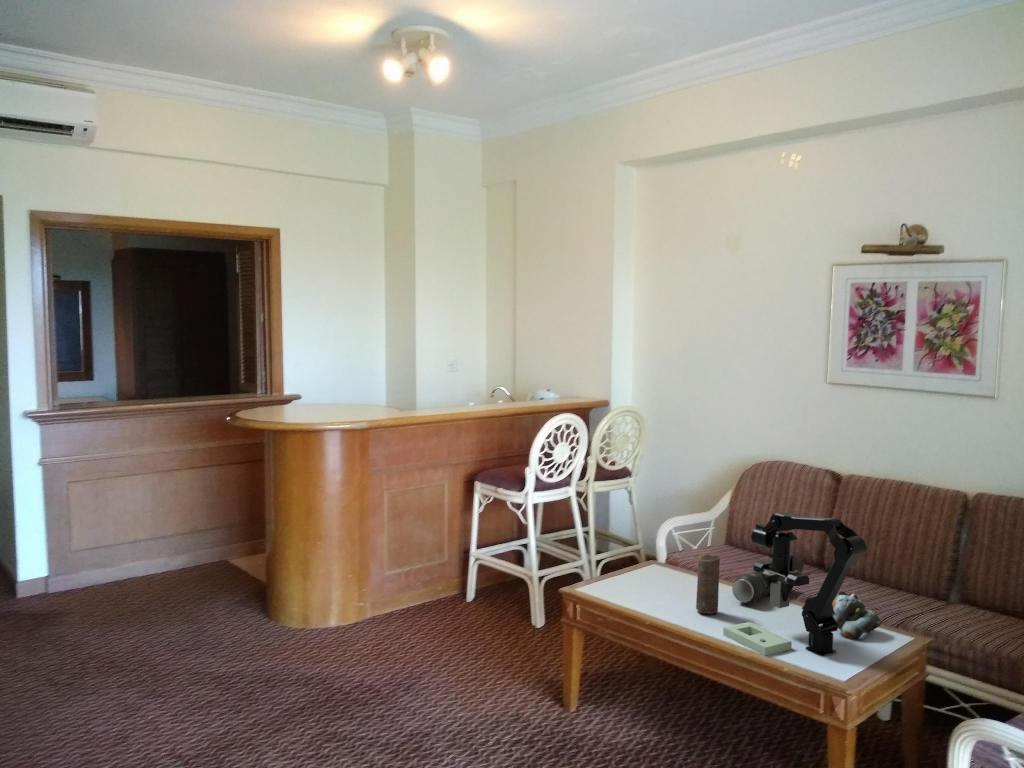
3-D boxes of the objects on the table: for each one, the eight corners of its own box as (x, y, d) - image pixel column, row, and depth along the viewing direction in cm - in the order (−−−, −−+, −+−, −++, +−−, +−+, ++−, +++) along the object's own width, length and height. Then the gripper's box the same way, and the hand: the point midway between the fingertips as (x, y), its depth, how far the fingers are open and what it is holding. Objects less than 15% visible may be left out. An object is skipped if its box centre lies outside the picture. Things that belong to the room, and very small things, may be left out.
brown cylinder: (720, 616, 273) (722, 559, 271) (699, 616, 273) (700, 558, 271) (714, 609, 280) (716, 552, 279) (693, 608, 280) (695, 552, 279)
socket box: (791, 649, 246) (791, 640, 245) (764, 655, 241) (765, 646, 240) (749, 629, 262) (749, 621, 261) (723, 635, 256) (723, 626, 256)
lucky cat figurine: (854, 643, 250) (833, 600, 254) (831, 644, 261) (811, 603, 265) (890, 624, 255) (868, 582, 258) (866, 626, 266) (846, 586, 270)
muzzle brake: (791, 592, 300) (792, 564, 299) (754, 609, 280) (755, 580, 279) (767, 586, 307) (768, 559, 306) (729, 603, 287) (730, 574, 286)
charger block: (789, 606, 257) (790, 583, 256) (779, 608, 255) (780, 585, 254) (779, 602, 260) (780, 579, 260) (769, 604, 258) (770, 581, 258)
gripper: (822, 555, 252) (820, 604, 253) (777, 541, 268) (776, 587, 269) (797, 560, 247) (795, 609, 248) (753, 545, 263) (751, 591, 264)
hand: (779, 599), depth 257 cm, fingers closed on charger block, 4 cm apart
